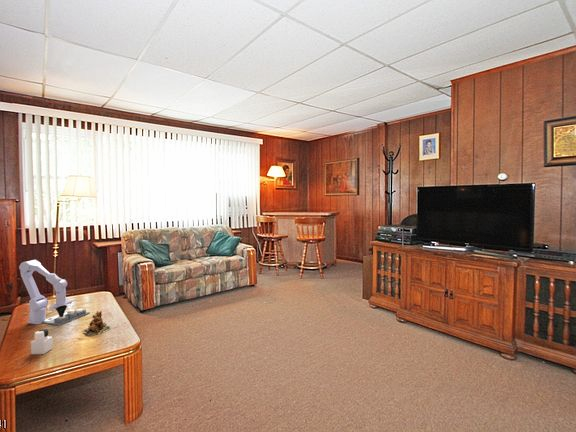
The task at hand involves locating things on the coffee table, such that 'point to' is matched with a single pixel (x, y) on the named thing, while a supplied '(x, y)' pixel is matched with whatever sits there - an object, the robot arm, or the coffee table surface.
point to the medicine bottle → (41, 342)
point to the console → (56, 321)
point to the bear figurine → (96, 325)
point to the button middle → (70, 312)
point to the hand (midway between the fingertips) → (61, 316)
